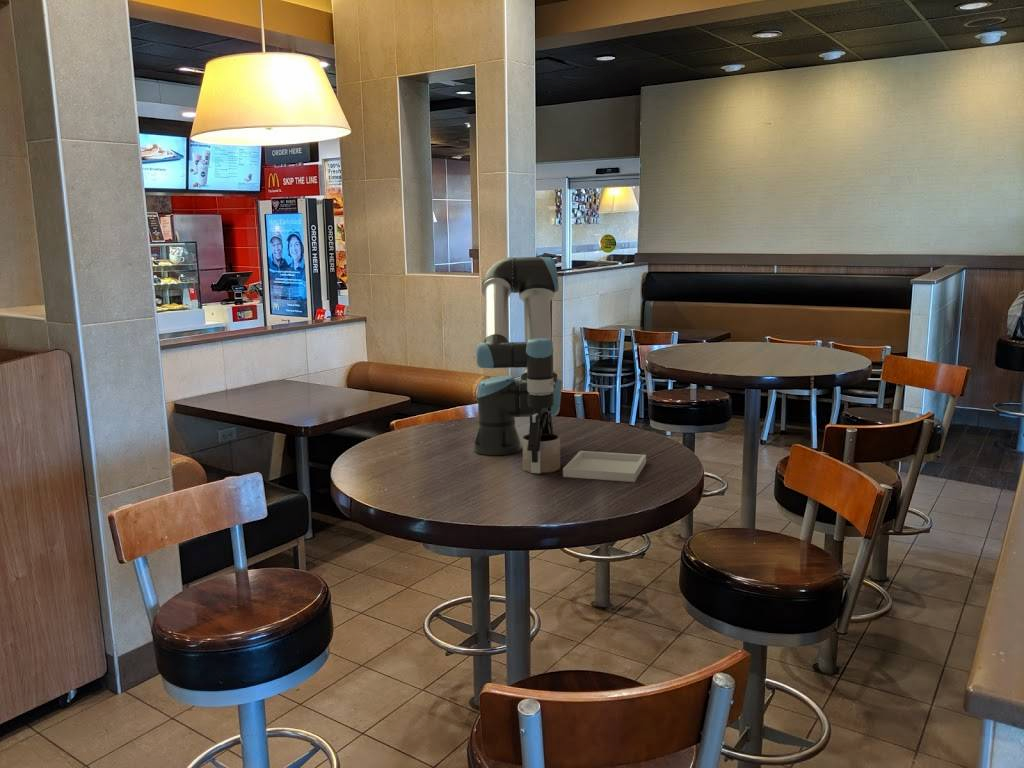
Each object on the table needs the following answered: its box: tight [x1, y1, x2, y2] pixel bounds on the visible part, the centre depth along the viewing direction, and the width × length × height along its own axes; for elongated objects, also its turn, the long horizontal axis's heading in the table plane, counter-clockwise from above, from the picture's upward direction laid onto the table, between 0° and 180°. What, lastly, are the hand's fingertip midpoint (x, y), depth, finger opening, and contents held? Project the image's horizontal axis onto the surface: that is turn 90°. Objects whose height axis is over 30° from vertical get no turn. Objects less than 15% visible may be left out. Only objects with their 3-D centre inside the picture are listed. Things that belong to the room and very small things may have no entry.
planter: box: [522, 433, 561, 475], centre depth 226 cm, size 11×11×10 cm
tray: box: [562, 450, 647, 483], centre depth 225 cm, size 20×20×2 cm
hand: (541, 467), depth 227 cm, fingers closed on planter, 11 cm apart
